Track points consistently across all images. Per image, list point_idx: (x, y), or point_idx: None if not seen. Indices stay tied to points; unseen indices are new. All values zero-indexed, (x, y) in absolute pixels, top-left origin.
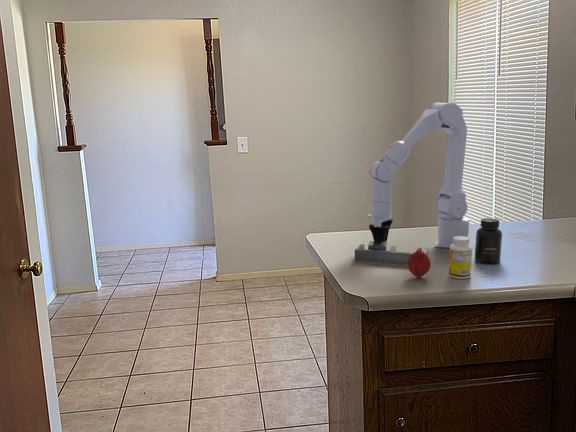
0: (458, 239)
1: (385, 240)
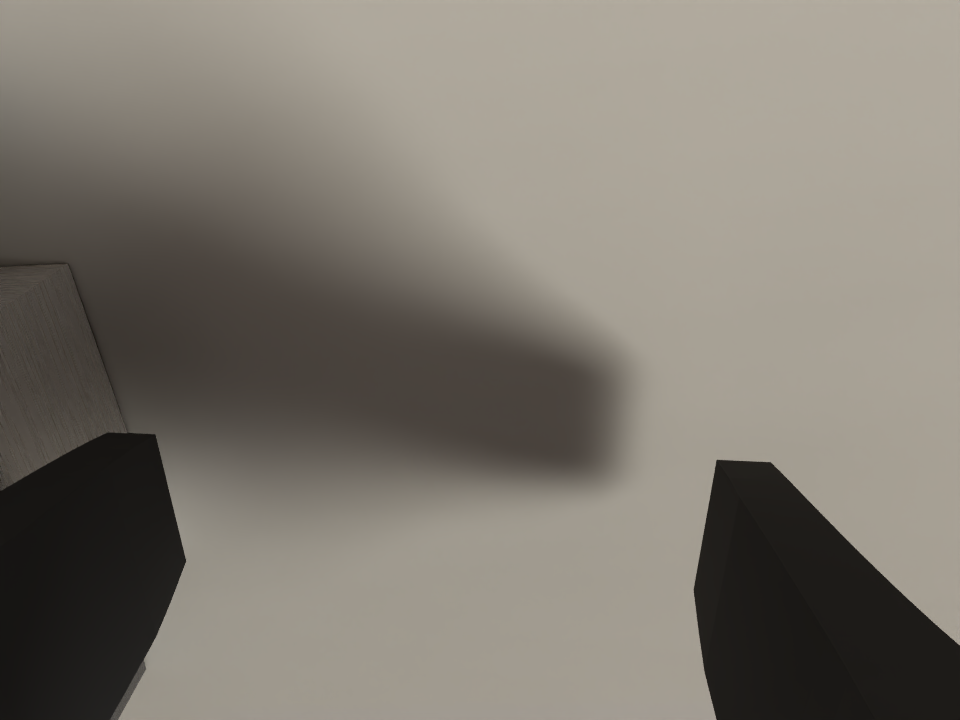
0: None
1: (707, 627)
